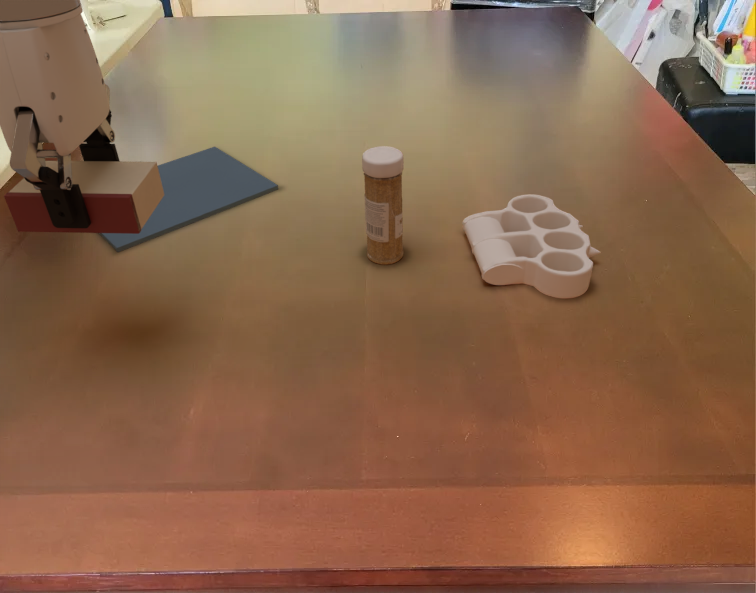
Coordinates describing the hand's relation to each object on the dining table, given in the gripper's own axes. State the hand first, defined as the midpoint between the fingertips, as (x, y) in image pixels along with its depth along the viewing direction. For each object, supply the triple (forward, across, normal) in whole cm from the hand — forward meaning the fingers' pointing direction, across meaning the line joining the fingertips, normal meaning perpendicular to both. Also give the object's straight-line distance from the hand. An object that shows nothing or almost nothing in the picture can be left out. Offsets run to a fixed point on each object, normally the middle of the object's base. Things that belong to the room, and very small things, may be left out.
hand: (91, 202), depth 60 cm
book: (+1, 0, 0) cm, 1 cm away
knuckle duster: (+16, -16, +44) cm, 49 cm away
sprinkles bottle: (+16, -15, +26) cm, 34 cm away
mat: (+16, -30, -5) cm, 34 cm away
